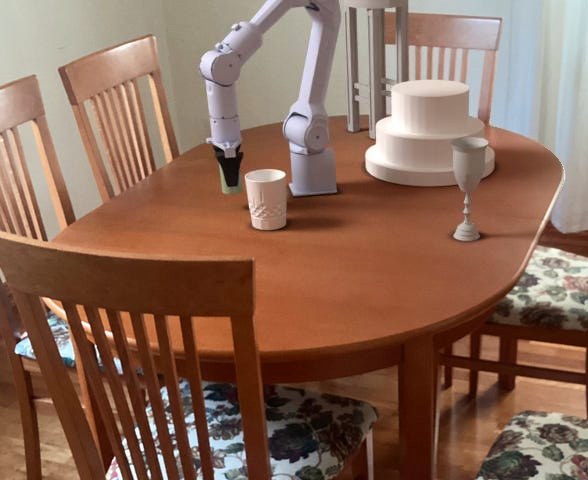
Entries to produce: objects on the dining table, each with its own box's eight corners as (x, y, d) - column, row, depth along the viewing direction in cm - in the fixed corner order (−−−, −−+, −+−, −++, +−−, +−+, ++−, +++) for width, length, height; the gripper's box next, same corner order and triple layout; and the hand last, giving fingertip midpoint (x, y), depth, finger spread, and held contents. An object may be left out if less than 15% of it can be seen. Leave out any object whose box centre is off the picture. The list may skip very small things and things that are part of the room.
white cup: (297, 222, 184) (293, 173, 178) (272, 234, 178) (268, 184, 173) (266, 215, 187) (262, 166, 182) (241, 227, 182) (236, 177, 176)
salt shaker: (241, 187, 192) (238, 151, 188) (243, 193, 188) (239, 157, 184) (221, 189, 191) (217, 153, 187) (222, 195, 187) (218, 159, 184)
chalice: (473, 245, 172) (476, 150, 163) (441, 238, 175) (443, 144, 166) (491, 233, 177) (495, 140, 168) (460, 226, 181) (462, 135, 171)
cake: (512, 179, 205) (517, 98, 196) (382, 191, 199) (380, 108, 190) (471, 143, 230) (473, 70, 221) (354, 153, 224) (351, 77, 215)
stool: (382, 120, 251) (380, -20, 233) (419, 131, 241) (420, -14, 223) (337, 130, 242) (331, -14, 224) (373, 142, 232) (370, -8, 214)
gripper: (201, 108, 187) (209, 173, 194) (205, 126, 175) (214, 195, 182) (236, 105, 188) (243, 170, 195) (243, 123, 176) (249, 192, 183)
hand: (231, 182), depth 189 cm, fingers closed on salt shaker, 4 cm apart
